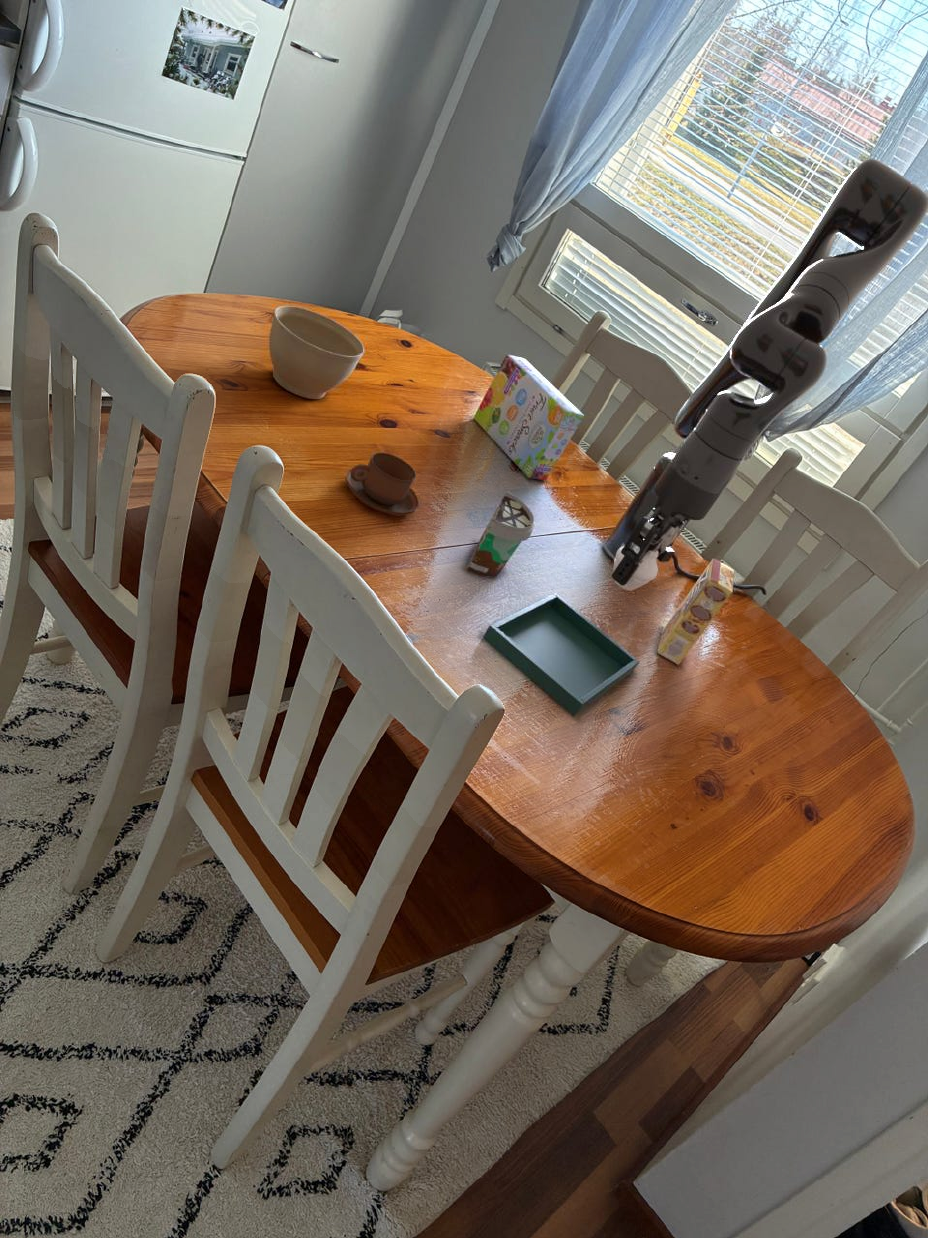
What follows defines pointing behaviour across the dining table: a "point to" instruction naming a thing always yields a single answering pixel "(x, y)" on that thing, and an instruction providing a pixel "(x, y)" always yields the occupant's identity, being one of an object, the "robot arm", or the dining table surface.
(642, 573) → the muffin
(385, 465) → the cup and saucer
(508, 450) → the snack box
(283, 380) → the planter bowl
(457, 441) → the dining table surface
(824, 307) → the robot arm
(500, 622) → the tray
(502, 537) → the food container
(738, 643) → the dining table surface
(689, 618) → the candy box
